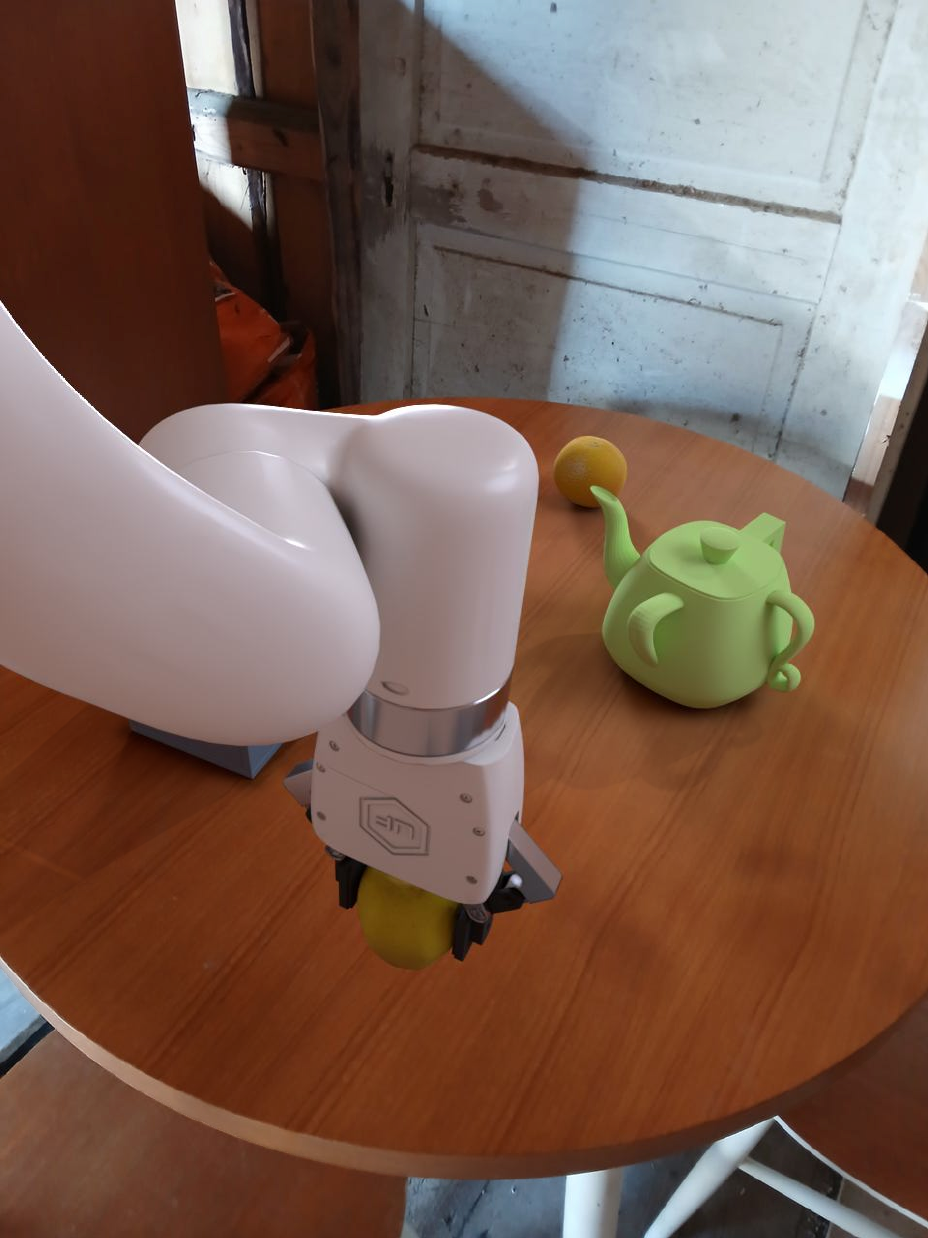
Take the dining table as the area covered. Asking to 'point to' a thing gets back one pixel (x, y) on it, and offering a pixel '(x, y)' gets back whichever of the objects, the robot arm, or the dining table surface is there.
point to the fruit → (589, 469)
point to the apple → (404, 920)
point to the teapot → (702, 609)
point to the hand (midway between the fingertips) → (412, 912)
